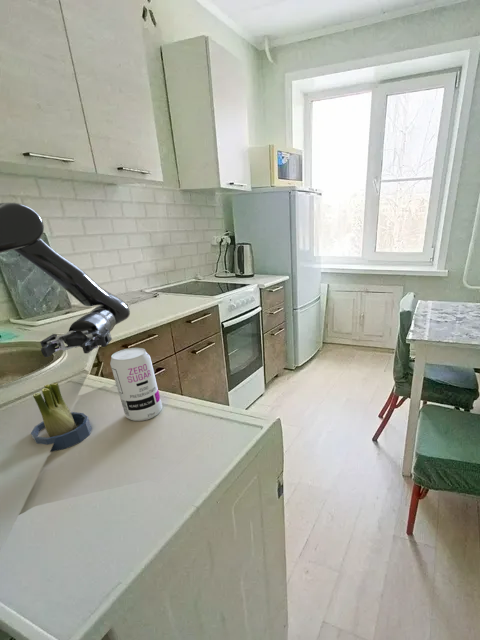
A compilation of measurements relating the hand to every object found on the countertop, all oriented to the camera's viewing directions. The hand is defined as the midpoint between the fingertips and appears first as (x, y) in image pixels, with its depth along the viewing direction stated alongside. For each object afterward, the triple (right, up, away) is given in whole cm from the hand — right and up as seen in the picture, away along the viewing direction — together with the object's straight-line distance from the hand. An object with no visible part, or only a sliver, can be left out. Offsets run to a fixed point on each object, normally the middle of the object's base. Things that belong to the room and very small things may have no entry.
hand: (64, 351), depth 79 cm
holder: (+2, -19, -3) cm, 19 cm away
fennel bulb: (+2, -19, -3) cm, 19 cm away
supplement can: (+16, -14, +4) cm, 22 cm away
